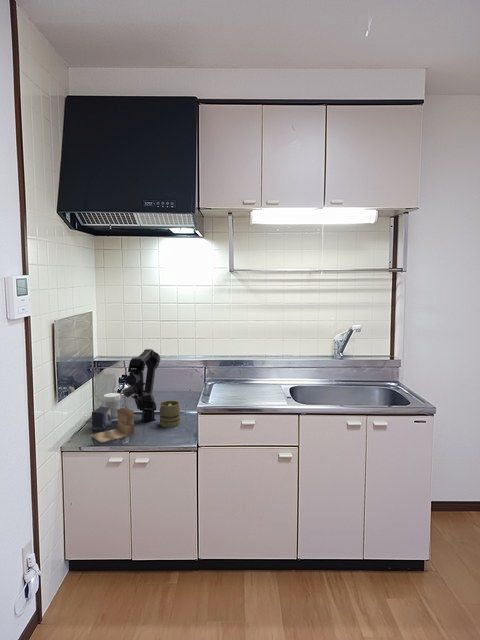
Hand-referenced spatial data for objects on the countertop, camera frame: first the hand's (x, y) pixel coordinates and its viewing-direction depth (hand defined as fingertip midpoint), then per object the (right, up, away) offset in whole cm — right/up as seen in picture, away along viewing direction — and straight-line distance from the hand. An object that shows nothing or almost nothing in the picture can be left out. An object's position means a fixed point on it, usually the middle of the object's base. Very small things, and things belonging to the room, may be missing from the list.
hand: (138, 409), depth 258 cm
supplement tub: (-19, -10, +18) cm, 28 cm away
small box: (-21, -11, +3) cm, 24 cm away
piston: (+16, -10, +9) cm, 21 cm away
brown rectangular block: (-6, -12, -4) cm, 14 cm away
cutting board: (-14, -12, -10) cm, 21 cm away
